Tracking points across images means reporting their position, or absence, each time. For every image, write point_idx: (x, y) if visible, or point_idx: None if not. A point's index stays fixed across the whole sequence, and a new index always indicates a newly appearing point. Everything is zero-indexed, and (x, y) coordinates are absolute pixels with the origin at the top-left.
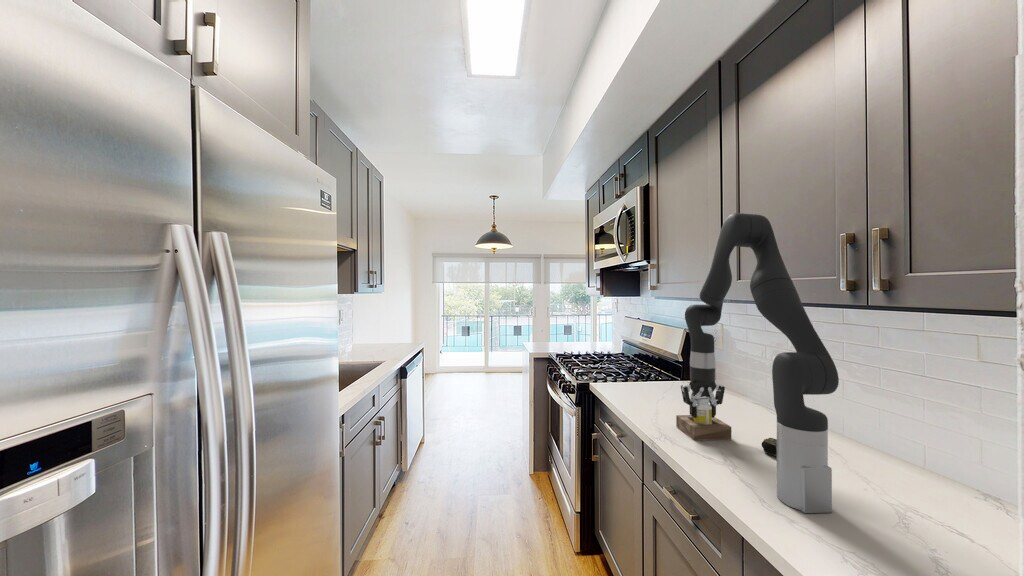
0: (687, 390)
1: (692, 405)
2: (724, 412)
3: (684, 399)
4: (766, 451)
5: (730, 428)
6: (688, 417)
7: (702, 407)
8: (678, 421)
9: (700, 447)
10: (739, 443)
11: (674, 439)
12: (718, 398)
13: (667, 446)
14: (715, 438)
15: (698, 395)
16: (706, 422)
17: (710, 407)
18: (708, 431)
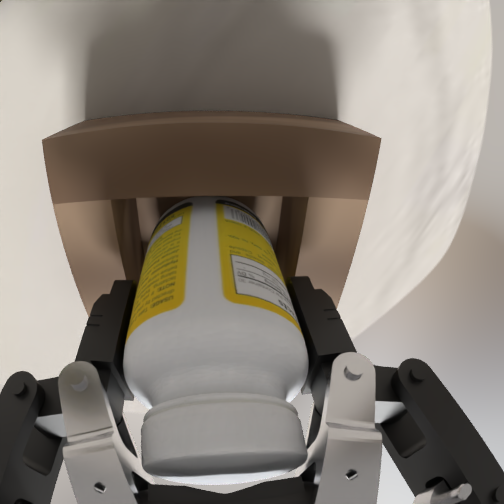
0: (479, 487)
1: (368, 361)
2: None
3: (406, 418)
4: None
5: (55, 134)
6: None
7: (269, 337)
8: None
9: (361, 24)
10: (71, 62)
11: (419, 158)
12: (36, 438)
13: (479, 97)
14: (190, 111)
15: (357, 490)
16: (215, 220)
17: (148, 342)
18: (248, 118)
